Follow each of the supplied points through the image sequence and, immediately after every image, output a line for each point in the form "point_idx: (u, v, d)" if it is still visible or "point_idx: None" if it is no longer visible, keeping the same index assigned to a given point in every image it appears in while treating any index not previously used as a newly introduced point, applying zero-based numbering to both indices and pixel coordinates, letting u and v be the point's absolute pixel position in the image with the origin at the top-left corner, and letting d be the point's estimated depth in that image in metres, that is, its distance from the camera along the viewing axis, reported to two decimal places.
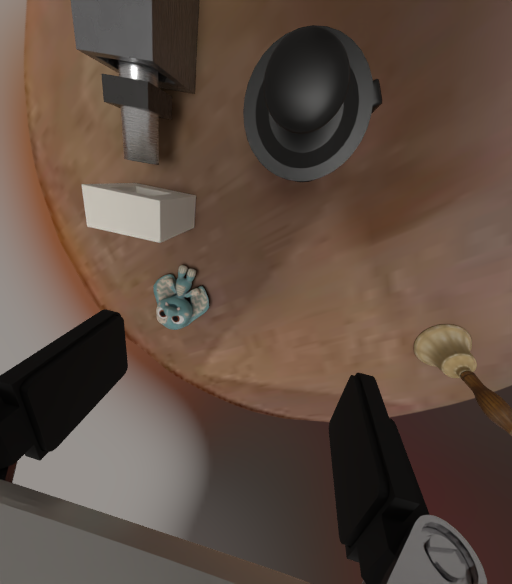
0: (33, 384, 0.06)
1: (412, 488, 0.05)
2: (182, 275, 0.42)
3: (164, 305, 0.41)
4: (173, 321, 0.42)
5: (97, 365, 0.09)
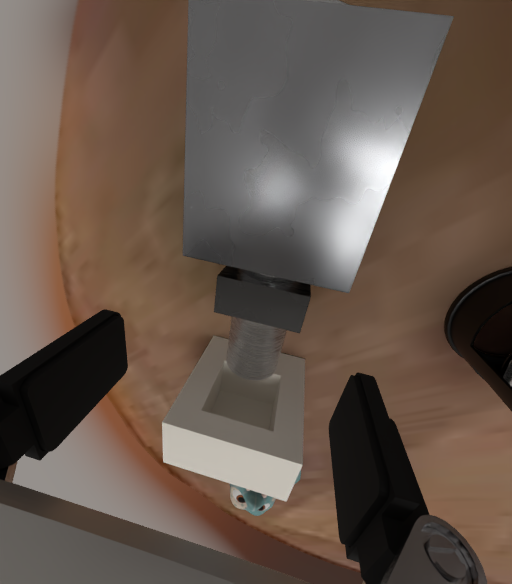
0: (33, 384, 0.06)
1: (412, 488, 0.05)
2: None
3: (245, 490, 0.29)
4: None
5: (97, 365, 0.09)
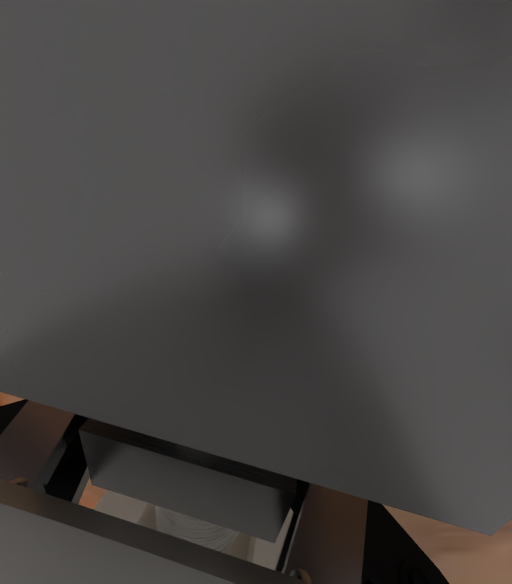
0: None
1: None
2: None
3: None
4: None
5: None
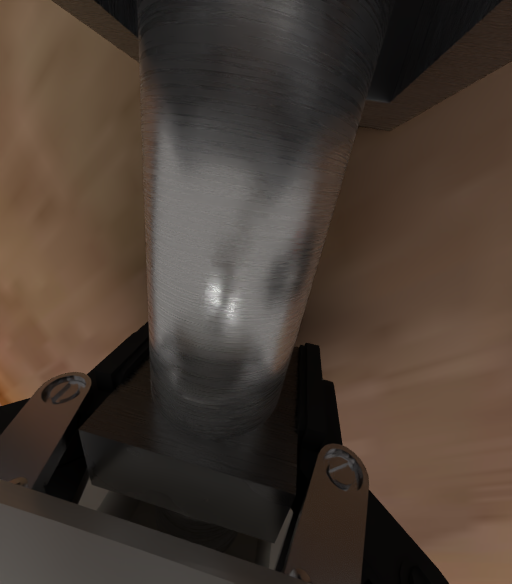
0: (124, 374, 0.07)
1: (324, 423, 0.07)
2: None
3: None
4: None
5: None
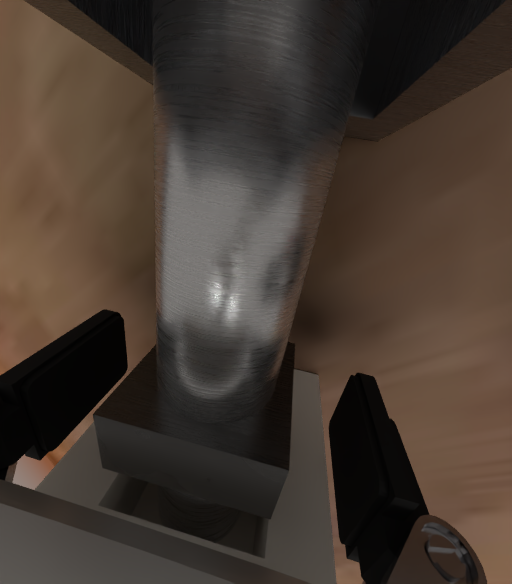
0: (33, 384, 0.06)
1: (412, 488, 0.05)
2: None
3: None
4: None
5: (97, 365, 0.09)
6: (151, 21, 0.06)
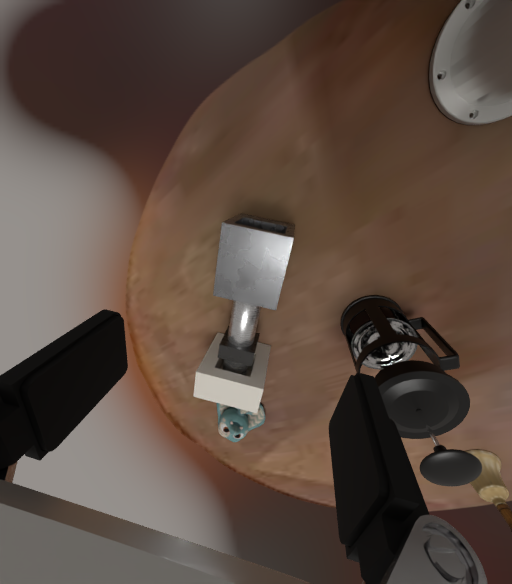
0: (33, 384, 0.06)
1: (412, 488, 0.05)
2: None
3: (229, 424, 0.47)
4: (234, 437, 0.48)
5: (97, 365, 0.09)
6: None
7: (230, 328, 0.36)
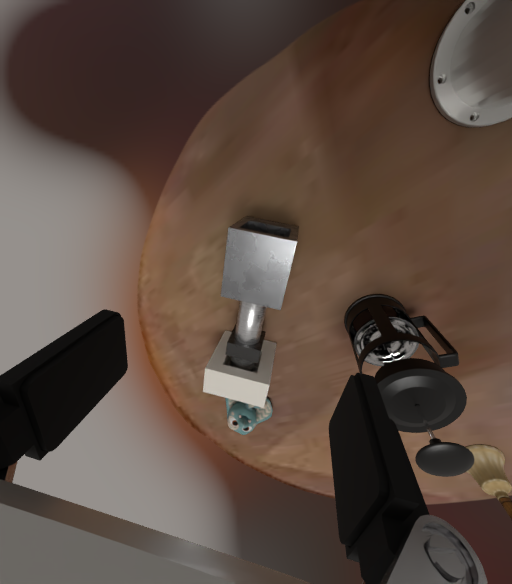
0: (33, 384, 0.06)
1: (412, 488, 0.05)
2: None
3: (238, 417, 0.49)
4: (243, 429, 0.49)
5: (97, 365, 0.09)
6: None
7: (237, 327, 0.37)
